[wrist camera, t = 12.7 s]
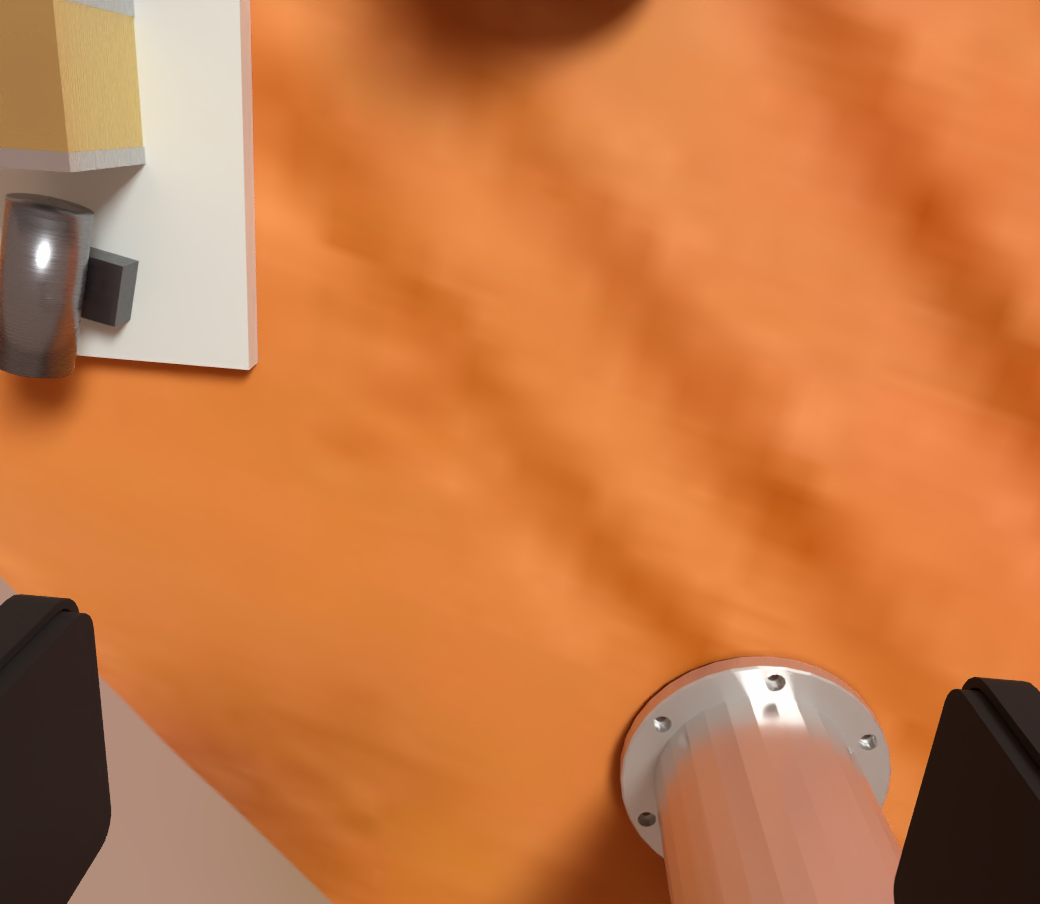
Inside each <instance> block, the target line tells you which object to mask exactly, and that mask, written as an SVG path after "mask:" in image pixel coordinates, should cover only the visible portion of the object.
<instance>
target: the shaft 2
mask: <svg viewBox="0 0 1040 904" xmlns="http://www.w3.org/2000/svg"><path fill="white" fill-rule="evenodd" d="M93 220H94V212H93V211H92V210H90V209H88V208H86V207H84V206H82V205H79V204H76V203H73V202H70V201H67V200H63V199H59V198H54V197H49V196H44V195H38V194H29V193H10V194H7V195H5V203H4V214H3V224H2V235H1V246H0V369H1V370H3V371H6V372H9V373H12V374H16V375H20V376H26V377H33V378H59V377H64V376H68V375H70V374H71V373H73V372H74V370H75V362H76V354H77V346H78V338H79V330H80V322H81V317H82V318H85V319H88V320H92V321H95V322H99V323H102V324H106V325H109V326H113V327H116V326H118V325H120V324H122V323H124V322H126V321H128V320H130V319H131V312H132V305H133V298H134V292H135V285H136V278H137V271H138V264H139V261H137V260H134V259H130V258H127V257H124V256H120V255H117V254H114V253H110V252H107V251H103V250H100V249H97V248H93V247H90V244H91V236H92V228H93Z"/></svg>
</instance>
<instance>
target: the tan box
mask: <svg viewBox="0 0 1040 904" xmlns="http://www.w3.org/2000/svg"><path fill="white" fill-rule="evenodd" d="M134 17H135V12H134V0H0V168H13V169H27V170H42V171H56V172H79V171H87V170H96V169H105V168H113V167H122V166H130V165H139V164H146V160H145V147H143V137H142V124H141V111H140V97H139V84H138V70H137V57H136V44H135V30H134Z"/></svg>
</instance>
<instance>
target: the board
mask: <svg viewBox="0 0 1040 904" xmlns="http://www.w3.org/2000/svg"><path fill="white" fill-rule="evenodd" d="M134 12H135V17H134V30H135V44H136V57H137V70H138V84H139V97H140V111H141V124H142V137H143V147H145V160H146V164H139V165H130V166H122V167H113V168H105V169H96V170H87V171H79V172H56V171H42V170H27V169H13V168H0V246H1V235H2V224H3V214H4V203H5V195H7V194H10V193H29V194H38V195H44V196H49V197H54V198H59V199H63V200H67V201H70V202H73V203H76V204H79V205H82V206H84V207H86V208H88V209H90V210H92V211H93V212H94V220H93V228H92V236H91V244H90V247H93V248H97V249H100V250H103V251H107V252H110V253H114V254H117V255H120V256H124V257H127V258H130V259H134V260H137V261H139V264H138V271H137V278H136V285H135V292H134V298H133V305H132V312H131V319H130V320H128V321H126V322H124V323H122V324H120V325H118V326H116V327H113V326H109V325H106V324H102V323H99V322H95V321H92V320H88V319H85V318H82V317H81V322H80V330H79V338H78V346H77V354H76V355H79V356H91V357H102V358H114V359H126V360H137V361H149V362H161V363H173V364H184V365H196V366H208V367H220V368H231V369H243V370H250V369H251V368H252V367H253V366H254V365H256V364H257V363H258V340H257V295H256V249H255V203H254V157H253V111H252V66H251V20H250V0H134Z"/></svg>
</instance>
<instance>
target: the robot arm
mask: <svg viewBox="0 0 1040 904" xmlns="http://www.w3.org/2000/svg"><path fill="white" fill-rule="evenodd" d="M890 776H891V763H890V751H889V748H888V745H887V742H886V739H885V736H884V733H883V730H882V728H881V727H880V725H879V723H878V721H877V719H876V717H875V716H874V714H873V712H872V710H871V709H870V708H869V706H868V705H867V704H866V703H865V701H864V700H863V699H862V698H861V696H860V695H859V694H858V693H857V692H856V691H855V690H854V689H852V688H851V687H850V686H849V685H847V684H846V683H845V682H844V681H842V680H841V679H840V678H838V677H836V676H834V675H833V674H831V673H829V672H827V671H825V670H823V669H821V668H819V667H817V666H814V665H810V664H807V663H804V662H801V661H797V660H794V659H787V658H779V657H771V656H754V657H738V658H733V659H728V660H723V661H718V662H714V663H712V664H709V665H706V666H704V667H701V668H698V669H696V670H693V671H690V672H689V673H687V674H685V675H683V676H682V677H680V678H678V679H677V680H675V681H673V682H671V683H670V684H668V685H667V686H666V687H665V688H663V689H662V690H661V691H660V692H659V693H658V694H656V695H655V696H654V697H653V698H652V699H651V700H650V701H649V702H648V703H647V704H646V706H645V707H644V708H643V709H642V711H641V712H640V713H639V714H638V716H637V717H636V718H635V720H634V722H633V724H632V726H631V728H630V730H629V732H628V734H627V736H626V738H625V742H624V746H623V750H622V753H621V757H620V783H621V790H622V799H623V802H624V805H625V808H626V811H627V814H628V817H629V819H630V821H631V823H632V824H633V826H634V828H635V829H636V831H637V833H638V834H639V836H640V837H641V838H642V839H643V840H644V841H645V842H646V843H647V844H648V846H649V847H650V848H651V849H652V850H653V851H654V852H655V853H657V854H658V855H660V856H661V857H662V858H664V861H665V868H666V874H667V881H668V888H669V894H670V901H671V904H1040V692H1039V691H1038V689H1037V688H1035V687H1034V686H1033V685H1032V684H1031V683H1028V682H1024V681H1014V680H1003V679H991V678H980V677H973V678H971V679H968V680H967V682H966V683H965V684H964V685H963V687H962V689H954V690H951V692H950V693H949V694H948V695H947V698H946V700H945V703H944V707H943V710H942V714H941V717H940V721H939V724H938V728H937V731H936V735H935V738H934V742H933V745H932V749H931V752H930V756H929V759H928V763H927V766H926V770H925V773H924V777H923V780H922V784H921V787H920V791H919V794H918V798H917V801H916V805H915V808H914V812H913V816H912V819H911V823H910V826H909V830H908V833H907V837H906V840H905V844H904V847H903V851H902V852H901V849H900V847H899V845H898V843H897V841H896V839H895V837H894V835H893V833H892V831H891V828H890V826H889V824H888V822H887V820H886V818H885V816H884V814H883V812H882V810H881V809H882V806H883V804H884V801H885V799H886V796H887V794H888V790H889V783H890ZM110 818H111V804H110V793H109V783H108V772H107V761H106V751H105V741H104V730H103V720H102V710H101V699H100V689H99V678H98V668H97V657H96V647H95V636H94V627H93V622H92V619H91V617H90V616H89V615H88V614H86V613H79V610H78V607H77V605H76V603H75V602H74V601H73V600H71V599H68V598H57V597H45V596H34V595H22V594H20V595H14V596H12V597H10V598H9V599H7V600H6V601H5V602H4V603H3V604H2V605H1V606H0V904H67V902H68V901H69V899H70V898H71V896H72V894H73V893H74V891H75V890H76V888H77V886H78V885H79V883H80V881H81V880H82V878H83V877H84V875H85V873H86V872H87V870H88V868H89V867H90V865H91V864H92V862H93V860H94V859H95V857H96V855H97V854H98V852H99V851H100V849H101V847H102V845H103V843H104V841H105V839H106V836H107V833H108V829H109V825H110Z"/></svg>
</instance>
